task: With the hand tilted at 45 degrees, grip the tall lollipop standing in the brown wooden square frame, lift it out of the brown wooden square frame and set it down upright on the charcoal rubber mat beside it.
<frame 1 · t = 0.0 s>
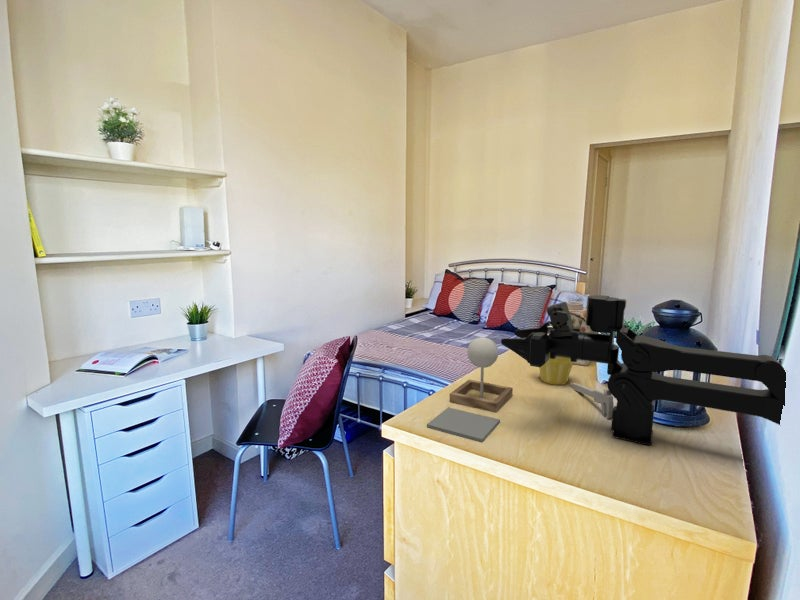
hand: (508, 336, 93), 17 cm above the table, tool horizontal, fingers open, 9 cm apart
lollipop: (481, 399, 101), on the table
mat: (463, 424, 87), on the table
decorative jar: (570, 359, 132), on the table
caliper: (588, 402, 99), on the table
plant pot: (554, 381, 113), on the table
brown wooden square frame: (481, 398, 101), on the table
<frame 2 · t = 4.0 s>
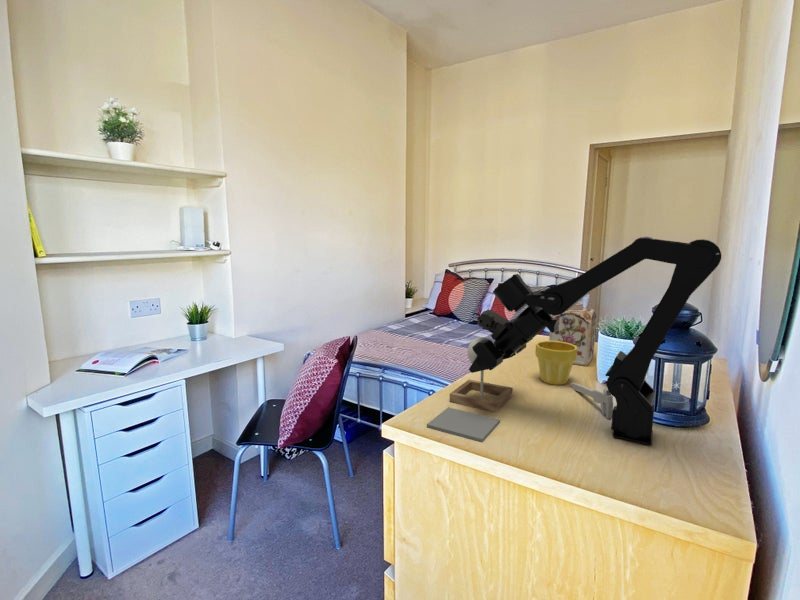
hand: (476, 367, 100), 8 cm above the table, tool tilted 45°, fingers closed on lollipop, 7 cm apart
lollipop: (481, 399, 101), on the table, touching gripper
everything else where it was.
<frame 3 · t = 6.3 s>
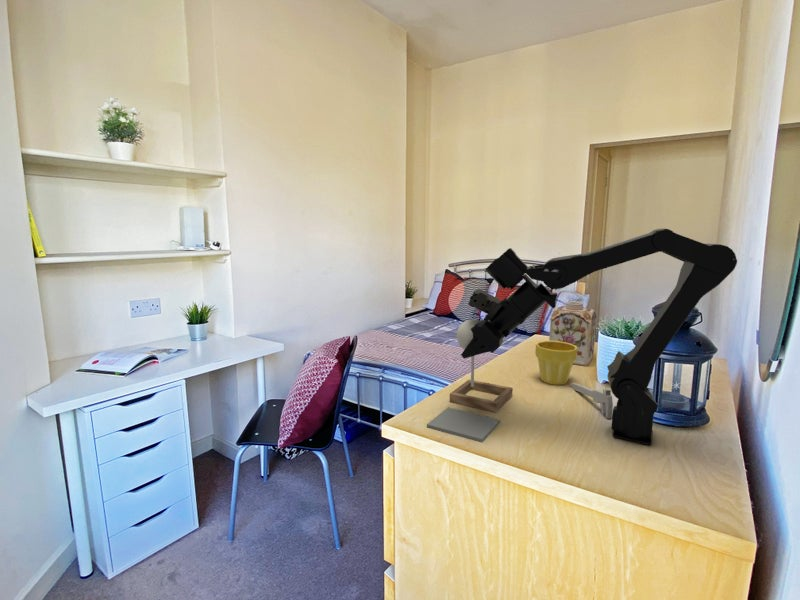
hand: (466, 352, 92), 13 cm above the table, tool tilted 45°, fingers closed on lollipop, 7 cm apart
lollipop: (472, 387, 93), point 6 cm above the table, touching gripper
everything else where it was.
when the fingers open (8 cm above the table, at t = 9.0 s): lollipop stays where it is, resting on mat.
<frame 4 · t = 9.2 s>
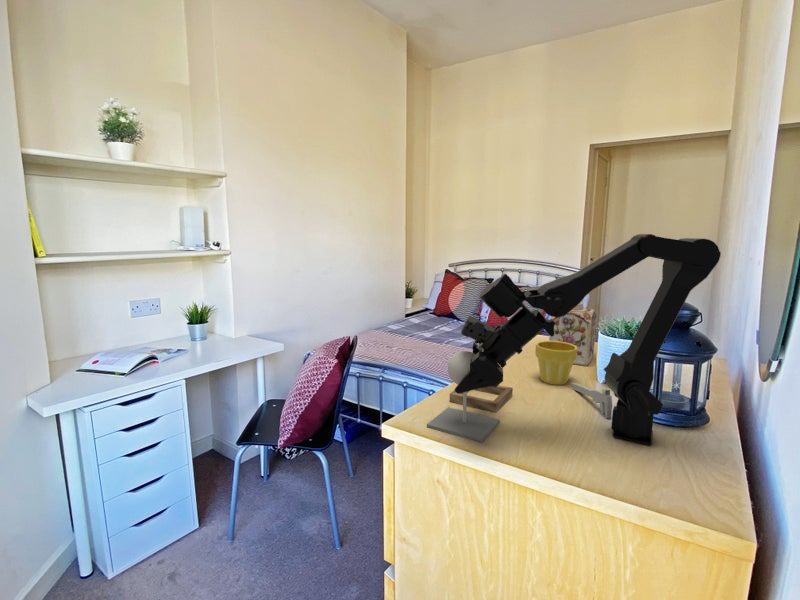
hand: (457, 383, 86), 9 cm above the table, tool tilted 45°, fingers open, 8 cm apart
lollipop: (464, 422, 87), resting on mat
everything else where it was.
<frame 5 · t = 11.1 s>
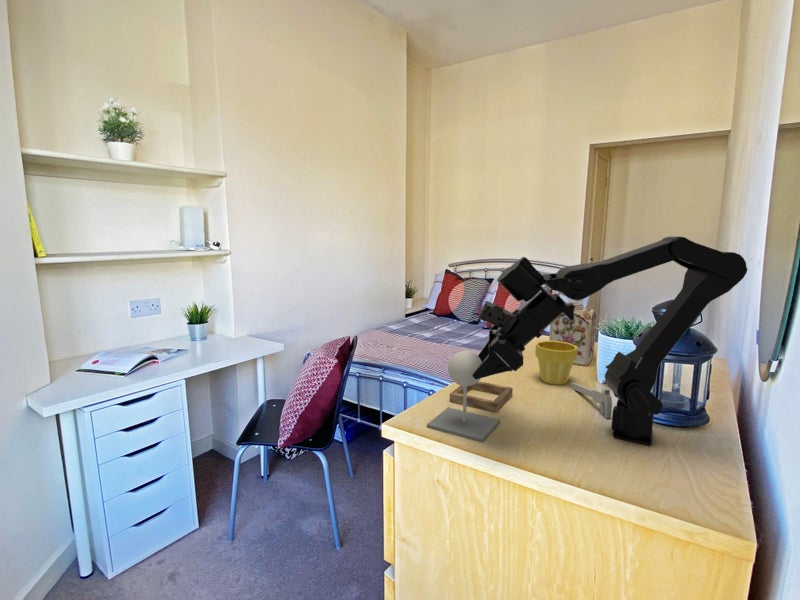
hand: (474, 369, 85), 12 cm above the table, tool tilted 45°, fingers open, 9 cm apart
nothing on the table moved.
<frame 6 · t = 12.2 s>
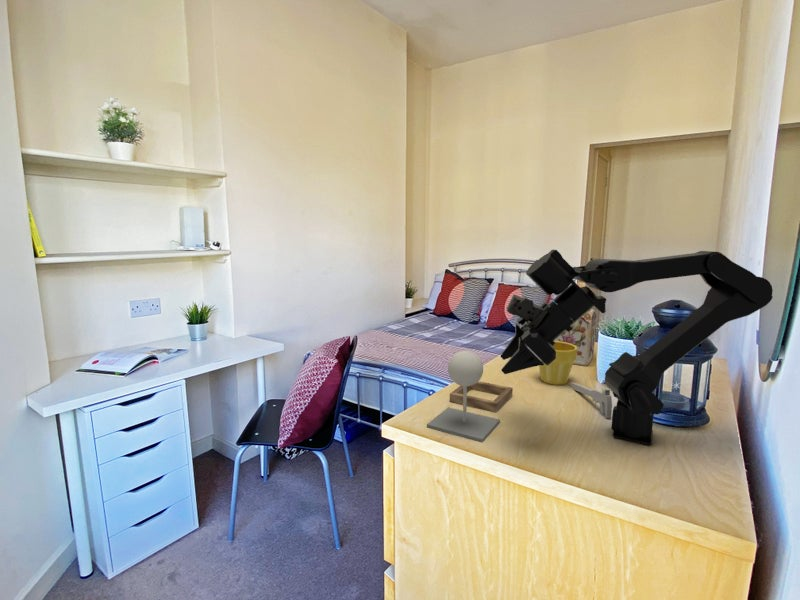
hand: (502, 364, 84), 13 cm above the table, tool tilted 45°, fingers open, 9 cm apart
nothing on the table moved.
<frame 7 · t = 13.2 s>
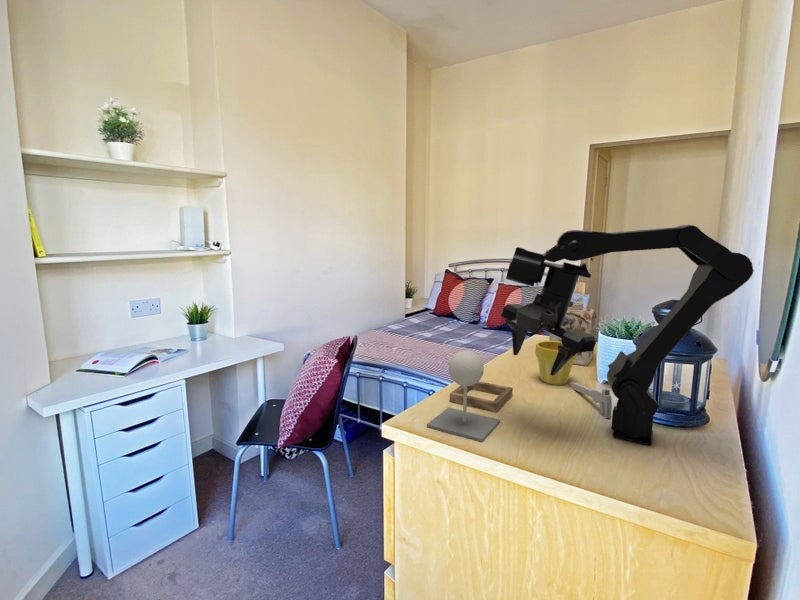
hand: (533, 364, 87), 12 cm above the table, tool pointing down, fingers open, 9 cm apart
nothing on the table moved.
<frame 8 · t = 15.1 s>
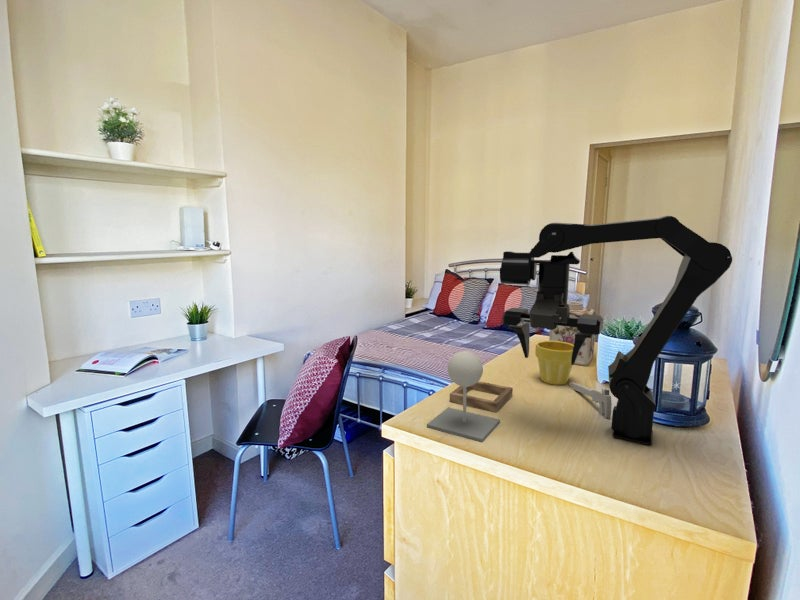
hand: (549, 361, 87), 13 cm above the table, tool pointing down, fingers open, 9 cm apart
nothing on the table moved.
at the end: lollipop 0.2 cm off-centre on the mat, point 0.4 cm above the mat's base; lollipop tilted 1°; the gripper is holding nothing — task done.
